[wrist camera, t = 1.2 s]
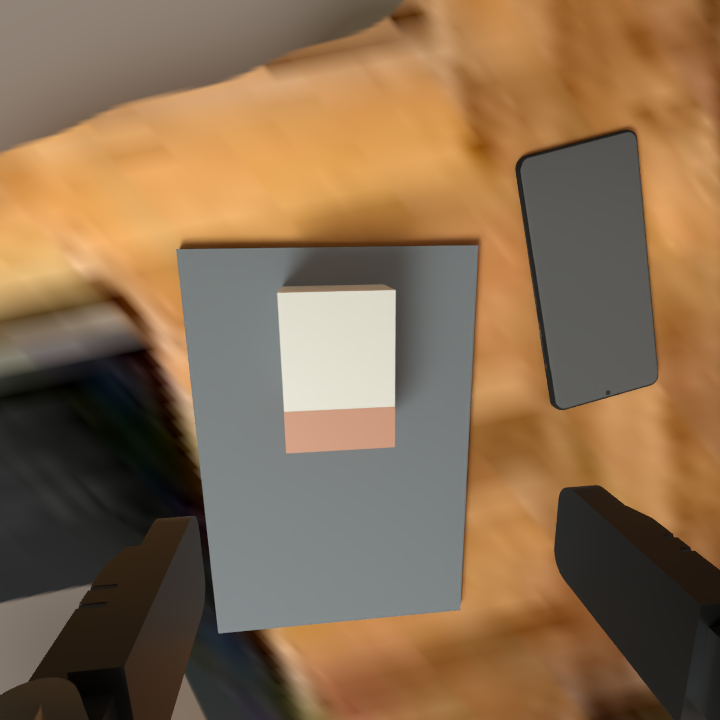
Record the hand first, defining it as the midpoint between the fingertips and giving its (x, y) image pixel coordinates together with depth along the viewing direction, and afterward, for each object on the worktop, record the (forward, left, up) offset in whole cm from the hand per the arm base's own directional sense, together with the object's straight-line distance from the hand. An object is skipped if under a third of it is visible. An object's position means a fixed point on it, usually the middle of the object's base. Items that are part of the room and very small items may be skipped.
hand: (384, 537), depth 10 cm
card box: (0, 0, -16) cm, 16 cm away
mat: (+6, 0, -17) cm, 18 cm away
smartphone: (-4, +15, -17) cm, 23 cm away
